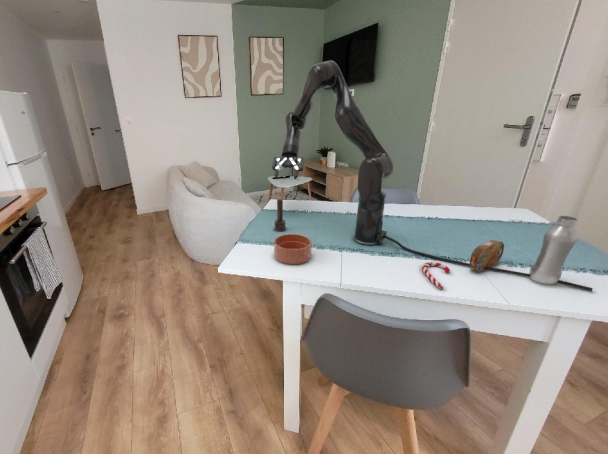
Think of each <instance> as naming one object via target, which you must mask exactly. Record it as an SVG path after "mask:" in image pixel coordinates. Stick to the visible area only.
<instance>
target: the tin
mask: <svg viewBox="0 0 608 454" xmlns="http://www.w3.org/2000/svg"><path fill="white" fill-rule="evenodd" d="M504 251H505V243H504V242H502V241H499V240H494V239H491V240H488V241H486V242H484V243H482V244H480V245H478V246H476V247H475V248H474V249H473V250H472V252H471V254H470V260H469V263H470V264H469V266H468V267H469V268H470V269H471V270H473V271H476V272H478V273H483V272H485V271H487V269H485V267H492V268H494V267H495V266H496V265H497V264H498V263H499V262H500V260H501V258H502V257H503V254H504Z"/></svg>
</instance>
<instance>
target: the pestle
mask: <svg viewBox="0 0 608 454" xmlns="http://www.w3.org/2000/svg"><path fill="white" fill-rule="evenodd" d="M274 231H275V232H284V231H286V220H285V219H284V199H283V198H277V199H276V219H275V220H274Z"/></svg>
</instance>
